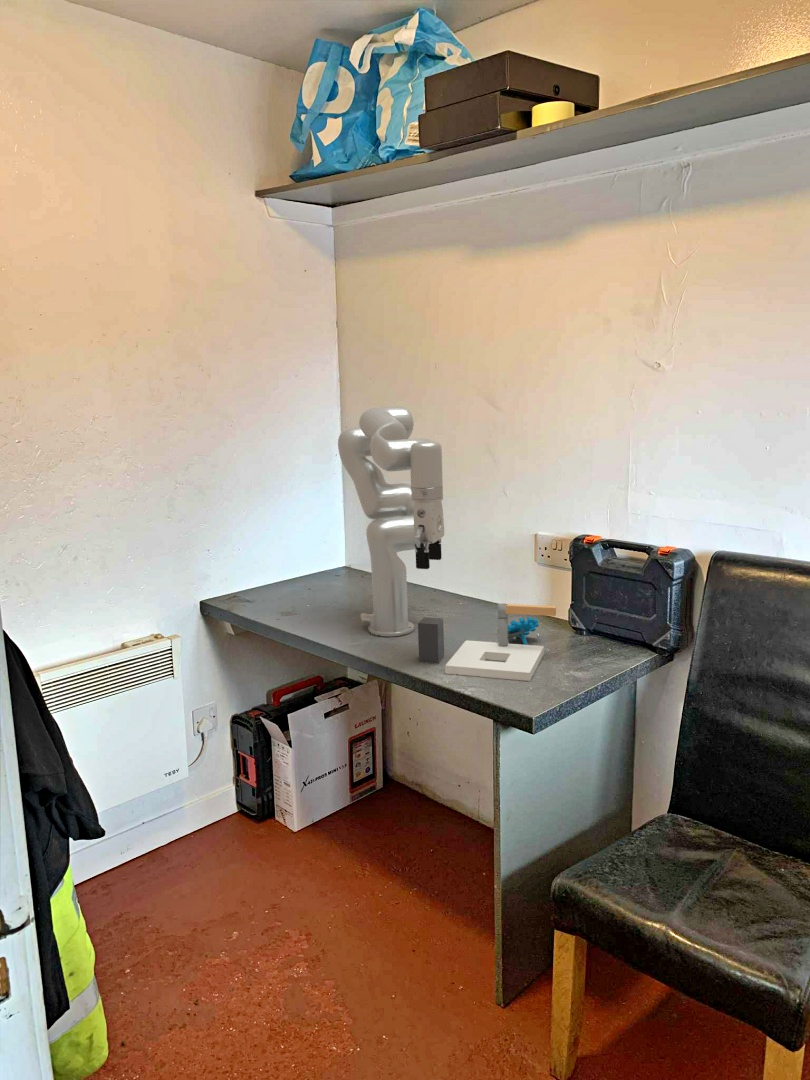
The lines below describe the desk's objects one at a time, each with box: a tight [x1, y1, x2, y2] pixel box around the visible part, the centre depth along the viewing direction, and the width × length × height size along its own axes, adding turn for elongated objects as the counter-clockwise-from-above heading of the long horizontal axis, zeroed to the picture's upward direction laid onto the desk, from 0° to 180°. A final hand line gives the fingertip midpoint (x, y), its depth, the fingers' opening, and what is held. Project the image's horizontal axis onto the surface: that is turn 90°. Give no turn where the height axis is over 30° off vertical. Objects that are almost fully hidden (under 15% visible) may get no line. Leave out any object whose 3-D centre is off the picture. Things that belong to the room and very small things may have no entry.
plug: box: [417, 616, 445, 665], centre depth 202 cm, size 5×5×10 cm
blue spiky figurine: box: [508, 616, 540, 645], centre depth 212 cm, size 11×6×10 cm
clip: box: [497, 602, 557, 618], centre depth 202 cm, size 2×14×3 cm, turn 74°
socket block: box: [444, 616, 545, 682], centre depth 198 cm, size 20×19×9 cm
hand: (429, 563), depth 198 cm, fingers open, 9 cm apart
